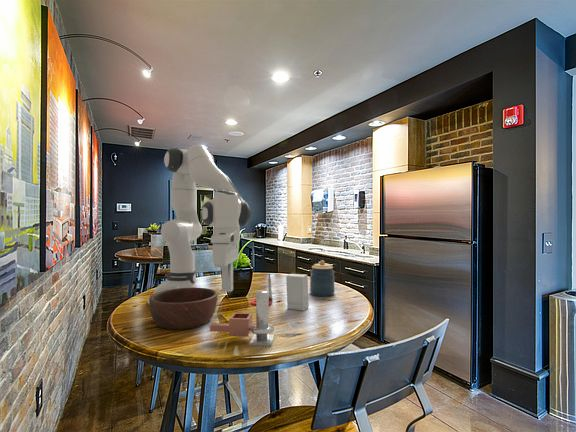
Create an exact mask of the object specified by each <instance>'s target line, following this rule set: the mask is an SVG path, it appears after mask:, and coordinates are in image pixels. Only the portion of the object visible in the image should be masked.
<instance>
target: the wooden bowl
mask: <svg viewBox="0 0 576 432" xmlns="http://www.w3.org/2000/svg"><path fill="white" fill-rule="evenodd" d="M148 300H149V304H148V305H149V309H150V310H149V311H150V316H151V317H152V320H153V322H154V323H155V325H156V326H157V327H160V328H161V327H162V329H164V328H166V329H165V330H174V329H178V330H187V329H192V328H193V329H194V328H197V327H200V326H204V325H205V324H207V323H208V322H210V320H211V319H212V318H213V316H214V313H215V311H216V307H217V304H218V303H217V302H218V292H217V291H216V290H215V289H211V288H205V287H196V288H177V289H170V290H165V291H161V292H158V293H155V294H153V293H152V295H151V296H149V298H148Z"/></svg>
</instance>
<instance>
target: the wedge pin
mask: <svg viewBox="0 0 576 432" xmlns="http://www.w3.org/2000/svg"><path fill="white" fill-rule="evenodd" d="M228 272H229V276H228V277H227V278H223V277H222V276H221V293H222V292H224V293H225V292H226V293H231V292H233V291H234V261H233V262H231V263H230V264H228Z"/></svg>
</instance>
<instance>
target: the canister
mask: <svg viewBox="0 0 576 432" xmlns="http://www.w3.org/2000/svg"><path fill="white" fill-rule="evenodd" d="M311 268H312V269H310V271H309V273H310V277H309V278H310V279H309V281H310V282H309V283H310V284H309V293H310V295H312V296H314V297H315V296H316V297H331V296H334V294H335V290H336V289H335V275H334V274H335V273H336V272H335V270H333V268H334V266H332V265H331V264H330V263H326V262H325V260H323V259H322V260H320V261H319V263H314V264H313V265H312V266H311Z"/></svg>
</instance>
